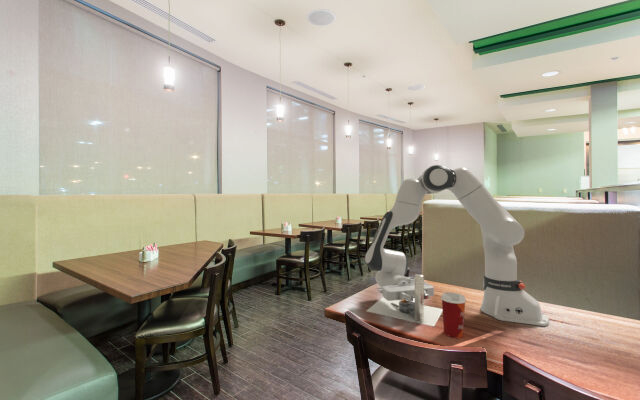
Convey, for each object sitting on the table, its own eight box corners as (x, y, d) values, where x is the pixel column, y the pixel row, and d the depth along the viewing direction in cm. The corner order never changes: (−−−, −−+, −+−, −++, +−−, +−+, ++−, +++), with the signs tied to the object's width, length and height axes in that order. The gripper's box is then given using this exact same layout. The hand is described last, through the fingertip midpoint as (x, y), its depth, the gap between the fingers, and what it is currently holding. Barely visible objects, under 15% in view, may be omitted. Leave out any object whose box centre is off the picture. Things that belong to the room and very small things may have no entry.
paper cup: (469, 343, 92) (469, 300, 92) (443, 341, 94) (443, 298, 93) (462, 332, 100) (462, 292, 100) (438, 330, 101) (438, 290, 101)
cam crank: (390, 302, 124) (390, 264, 124) (405, 301, 125) (405, 263, 125) (413, 323, 104) (413, 276, 104) (429, 321, 105) (429, 276, 105)
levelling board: (443, 312, 118) (443, 308, 118) (434, 329, 102) (434, 325, 102) (382, 300, 132) (382, 296, 132) (365, 314, 116) (365, 310, 116)
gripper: (376, 281, 115) (393, 292, 101) (421, 277, 120) (443, 287, 107) (376, 297, 115) (393, 309, 101) (421, 292, 120) (443, 304, 107)
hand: (419, 298), depth 104 cm, fingers open, 5 cm apart
